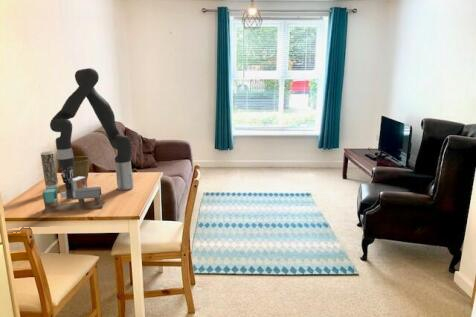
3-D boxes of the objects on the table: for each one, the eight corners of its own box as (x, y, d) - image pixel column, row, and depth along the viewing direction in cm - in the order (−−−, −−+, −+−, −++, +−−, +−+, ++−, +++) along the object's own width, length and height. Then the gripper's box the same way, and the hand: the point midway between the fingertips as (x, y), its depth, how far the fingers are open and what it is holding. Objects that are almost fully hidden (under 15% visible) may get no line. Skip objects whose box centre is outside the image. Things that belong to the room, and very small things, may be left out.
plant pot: (64, 182, 232) (61, 159, 229) (87, 177, 242) (84, 155, 238) (72, 187, 222) (69, 163, 218) (96, 182, 231) (93, 158, 228)
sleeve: (101, 194, 192) (100, 186, 191) (99, 197, 187) (98, 189, 186) (78, 196, 190) (77, 188, 189) (75, 199, 185) (74, 191, 184)
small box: (78, 198, 202) (76, 180, 200) (70, 197, 204) (68, 179, 202) (88, 193, 210) (86, 176, 207) (81, 192, 212) (78, 176, 209)
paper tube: (54, 195, 208) (48, 154, 202) (44, 194, 209) (37, 153, 203) (61, 191, 214) (56, 151, 208) (52, 191, 216) (46, 151, 210)
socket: (57, 198, 188) (56, 188, 187) (54, 202, 183) (52, 192, 182) (47, 199, 188) (46, 189, 186) (44, 202, 182) (42, 192, 181)
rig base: (105, 201, 196) (104, 192, 194) (101, 208, 186) (100, 198, 185) (49, 206, 191) (47, 196, 189) (42, 213, 181) (41, 202, 180)
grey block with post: (100, 194, 191) (98, 176, 189) (98, 196, 187) (96, 179, 185) (63, 197, 188) (60, 179, 186) (60, 199, 184) (58, 181, 182)
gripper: (69, 159, 175) (73, 192, 180) (76, 153, 189) (80, 184, 193) (53, 160, 174) (58, 193, 178) (61, 154, 188) (66, 185, 192)
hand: (69, 188), depth 186 cm, fingers closed on grey block with post, 3 cm apart
